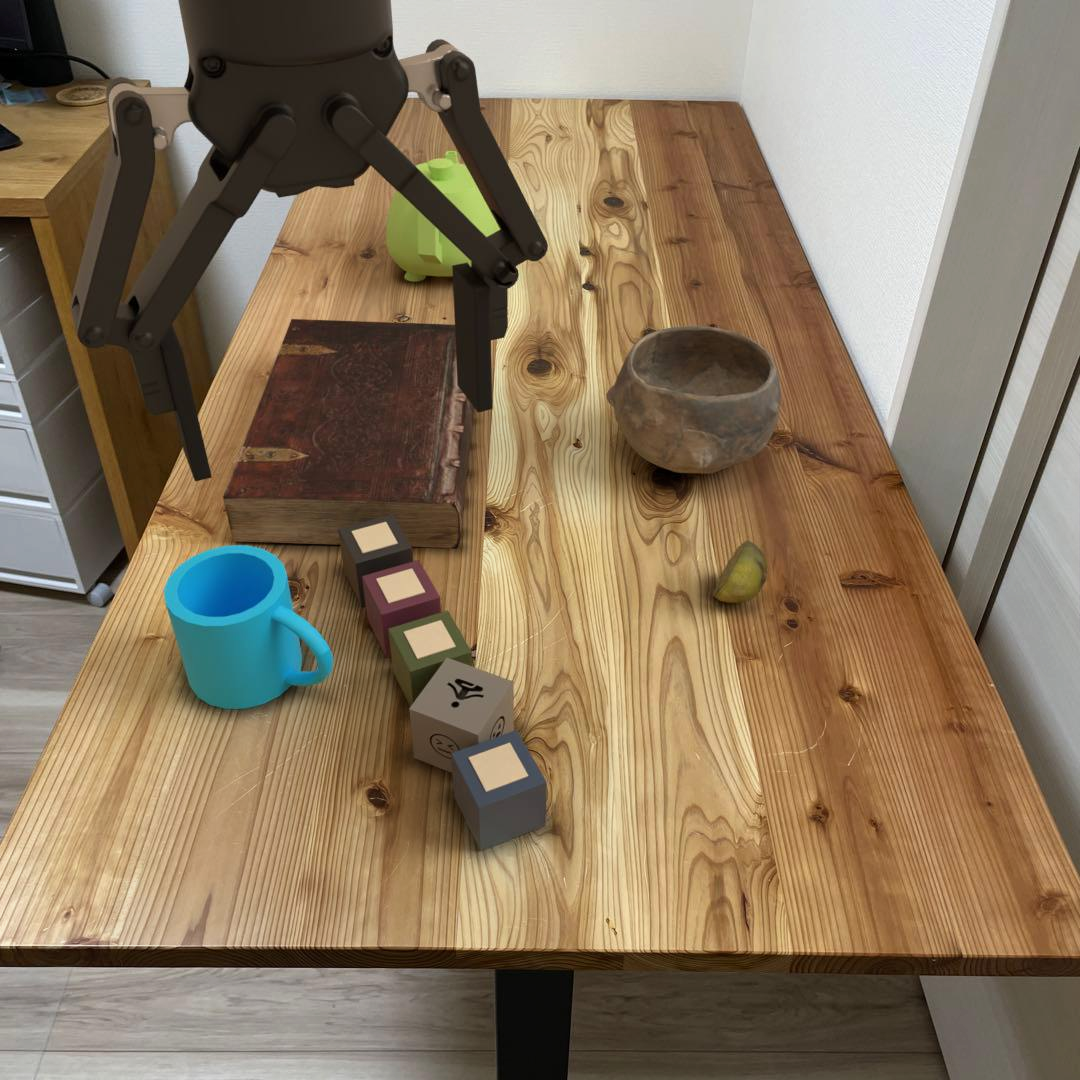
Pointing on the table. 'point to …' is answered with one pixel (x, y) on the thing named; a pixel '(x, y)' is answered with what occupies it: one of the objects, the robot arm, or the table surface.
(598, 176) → the table surface
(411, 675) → the block
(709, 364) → the bowl
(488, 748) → the block
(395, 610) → the block
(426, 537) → the hardback book
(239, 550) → the mug
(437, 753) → the dice cube
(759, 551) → the lime
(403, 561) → the block
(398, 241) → the teapot
